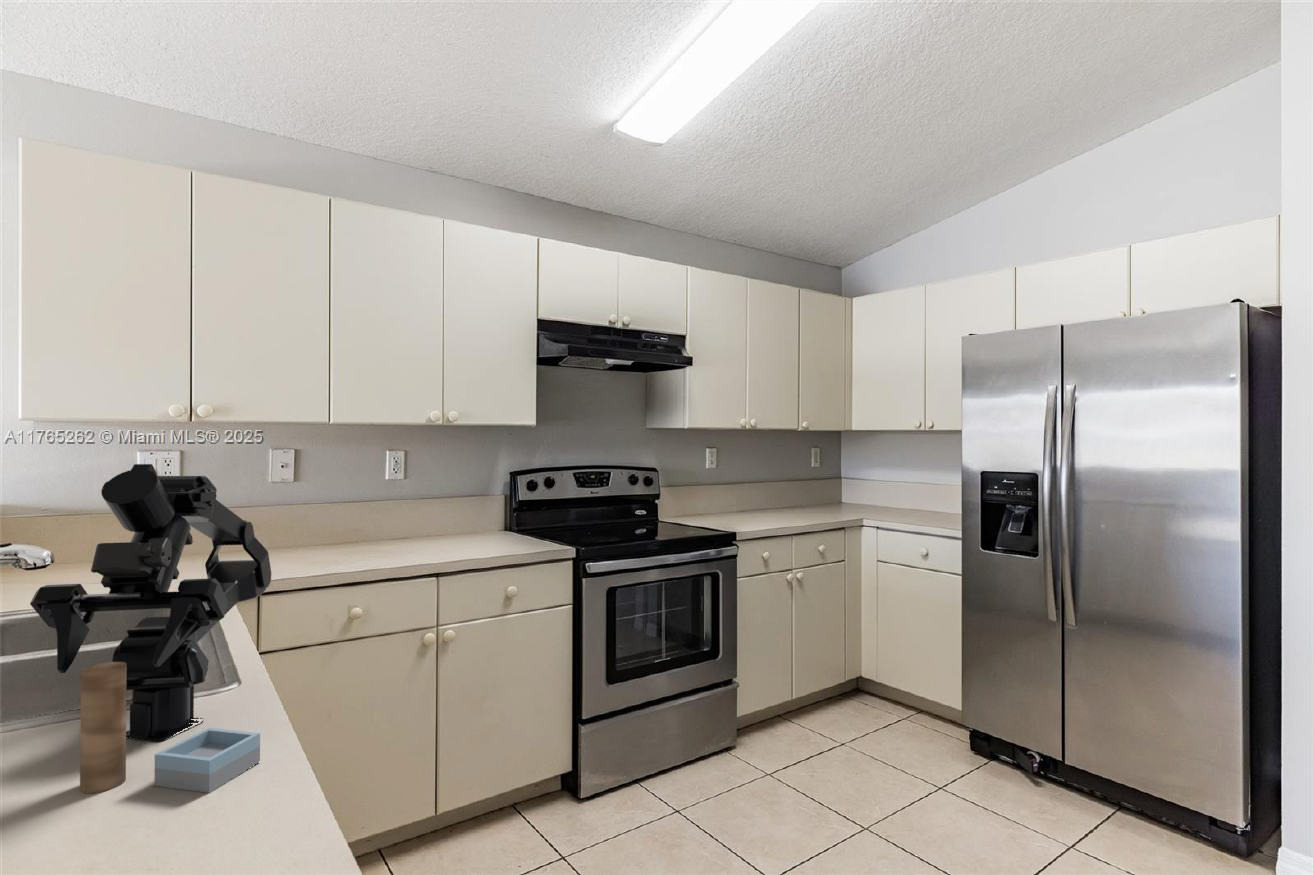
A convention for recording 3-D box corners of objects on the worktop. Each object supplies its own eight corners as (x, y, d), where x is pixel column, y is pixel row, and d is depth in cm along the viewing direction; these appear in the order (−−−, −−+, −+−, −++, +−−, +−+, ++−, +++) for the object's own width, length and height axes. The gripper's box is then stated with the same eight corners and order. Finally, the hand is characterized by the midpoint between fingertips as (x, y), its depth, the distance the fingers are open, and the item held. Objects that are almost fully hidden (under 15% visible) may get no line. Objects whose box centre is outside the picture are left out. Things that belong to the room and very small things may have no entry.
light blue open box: (208, 756, 84) (209, 727, 84) (259, 762, 82) (260, 733, 82) (154, 785, 77) (154, 754, 77) (209, 793, 75) (209, 760, 75)
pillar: (106, 773, 80) (107, 660, 80) (134, 777, 79) (135, 663, 79) (70, 791, 76) (71, 672, 76) (100, 795, 75) (100, 674, 75)
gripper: (40, 516, 81) (-27, 637, 70) (219, 513, 86) (182, 626, 75) (78, 571, 89) (22, 687, 78) (240, 565, 93) (209, 674, 83)
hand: (109, 668), depth 78 cm, fingers open, 9 cm apart
